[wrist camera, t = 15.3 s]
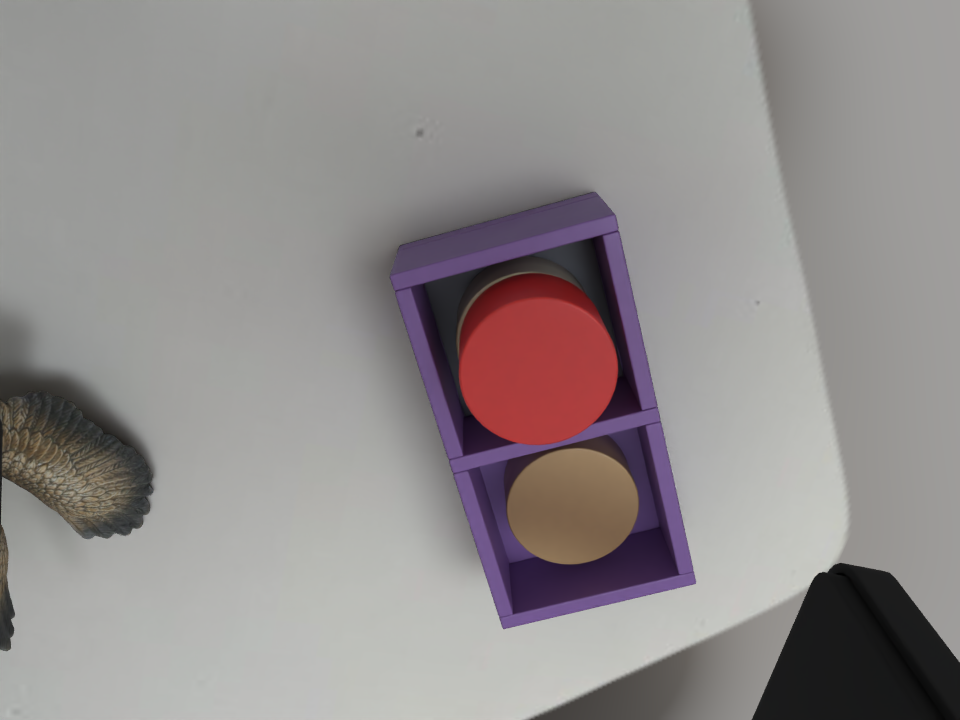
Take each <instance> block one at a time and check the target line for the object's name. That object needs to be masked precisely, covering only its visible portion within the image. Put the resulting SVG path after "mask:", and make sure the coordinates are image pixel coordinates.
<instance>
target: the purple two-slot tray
mask: <svg viewBox="0 0 960 720" xmlns="http://www.w3.org/2000/svg"><path fill="white" fill-rule="evenodd" d="M523 256H530V257H538V258H543V259H546V260H550V261H552V262H554V263H557V264H559V265H560V266H562V267H564V268H565V269H567V270H568V271H569V272H570V273H571V274H573V275H574V277H575V278H576V279H577V280H578V281H579V282H580V284H581V285H582V287H583V288H584V290H585V292H586V294H587V296H588V297H589V298H590V299H591V301H592V302H593V304H594V305H595V307H596V308H597V310H598V312H599V314H600V316H601V319H602V321H603V323H604V325H605V327H606V329H607V331H608V333H609V335H610V337H611V339H612V341H613V344H614V347H615V350H616V354H617V360H618V377H617V383H616V387H615V391H614V393H613V396H612V398H611V400H610V402H609V404H608V406H607V407H606V409H605V410H604V412H603V413H602V414H601V416H600V417H599V418H598V419H597V420H596V421H595V422H594V423H593V424H592V425H590V426H589V427H588V428H587V429H585V430H584V431H582V432H581V433H579V434H578V435H575V436H573V437H571V438H569V439H567V440H564V441H561V442H557V443H552V444H546V445H526V444H520V443H516V442H512V441H509V440H506V439H504V438H501V437H499V436H498V435H496V434H494V433H492V432H491V431H489V430H488V429H487V428H485V427H484V426H483V425H482V424H481V423H480V422H479V421H478V420H477V419H476V418H475V417H474V415H473V414H472V413H471V411H470V410H469V408H468V406H467V405H466V403H465V400H464V398H463V395H462V392H461V388H460V383H459V359H458V355H457V350H456V323H457V312H458V307H459V304H460V300H461V298H462V296H463V294H464V292H465V290H466V289H467V287H468V285H469V284H470V283H471V282H472V280H473V279H474V278H475V277H476V276H477V275H478V274H479V273H481V272H482V271H483V270H485V269H486V268H488V267H489V266H491V265H493V264H497V263H501V262H504V261H508V260H512V259H515V258H519V257H523ZM390 280H391V283H392V286H393V289H394V290H395V295H396V298H397V301H398V305H399V308H400V311H401V314H402V317H403V320H404V323H405V326H406V329H407V332H408V336H409V339H410V342H411V345H412V348H413V351H414V354H415V357H416V360H417V364H418V367H419V370H420V373H421V376H422V379H423V382H424V385H425V388H426V392H427V395H428V398H429V401H430V404H431V407H432V410H433V413H434V416H435V420H436V423H437V426H438V429H439V432H440V435H441V438H442V441H443V444H444V448H445V451H446V454H447V457H448V459H449V463H450V466H451V469H452V472H453V476H454V479H455V482H456V485H457V488H458V491H459V494H460V497H461V500H462V503H463V507H464V510H465V513H466V516H467V519H468V522H469V525H470V528H471V531H472V535H473V538H474V541H475V544H476V547H477V550H478V553H479V556H480V559H481V563H482V566H483V569H484V572H485V575H486V578H487V581H488V584H489V587H490V591H491V594H492V597H493V600H494V603H495V606H496V609H497V612H498V615H499V618H500V622H501V625H502V628H503V629H506V628H511V627H515V626H519V625H523V624H528V623H532V622H536V621H540V620H545V619H549V618H553V617H557V616H562V615H566V614H570V613H574V612H579V611H583V610H587V609H591V608H595V607H600V606H604V605H608V604H612V603H617V602H621V601H625V600H629V599H634V598H638V597H642V596H646V595H651V594H655V593H659V592H663V591H668V590H672V589H676V588H680V587H685V586H689V585H693V584H696V579H695V575H694V571H693V566H692V561H691V556H690V552H689V547H688V543H687V538H686V534H685V529H684V525H683V520H682V515H681V511H680V506H679V502H678V497H677V493H676V488H675V484H674V479H673V474H672V470H671V465H670V461H669V456H668V452H667V447H666V442H665V438H664V433H663V429H662V424H661V421H660V415H659V411H658V407H657V402H656V397H655V392H654V388H653V383H652V379H651V374H650V370H649V365H648V361H647V356H646V351H645V347H644V342H643V338H642V333H641V329H640V324H639V320H638V315H637V310H636V306H635V301H634V297H633V292H632V288H631V283H630V279H629V274H628V269H627V265H626V260H625V256H624V251H623V247H622V242H621V238H620V233H619V231H618V224H617V219H616V215H615V214H614V213H613V212H612V210H611V209H610V208H609V207H608V206H607V204H606V203H605V202H604V201H603V200H602V199H601V197H600V196H599V195H598V194H597V193H596V192H593V193H589V194H585V195H582V196H578V197H574V198H571V199H567V200H564V201H560V202H556V203H553V204H549V205H545V206H542V207H538V208H534V209H531V210H527V211H524V212H520V213H516V214H513V215H509V216H505V217H502V218H498V219H495V220H491V221H487V222H484V223H480V224H476V225H473V226H469V227H465V228H462V229H458V230H455V231H451V232H447V233H444V234H440V235H436V236H433V237H429V238H426V239H422V240H418V241H415V242H411V243H407V244H404V245H400V246H399V249H398V252H397V255H396V258H395V261H394V264H393V267H392V270H391V273H390ZM603 435H608V436H609V437H610V438H612V439H613V440H614V441H615V442H616V443H617V444H618V446H619V447H620V449H621V450H622V452H623V454H624V456H625V458H626V460H627V463H628V466H629V468H630V471H631V474H632V476H633V479H634V481H635V484H636V487H637V490H638V495H639V511H638V516H637V519H636V522H635V524H634V527H633V529H632V530H631V532H630V534H629V535H628V537H627V538H626V539H625V540H624V542H623V543H621V544H620V545H619V546H618V547H617V548H616V549H615V550H613V551H612V552H610V553H609V554H607V555H605V556H603V557H601V558H599V559H597V560H594V561H590V562H586V563H581V564H559V563H553V562H549V561H546V560H544V559H541V558H539V557H537V556H535V555H533V554H532V553H530V552H529V551H528V550H526V549H525V548H524V547H523V546H522V545H521V544H520V543H519V542H518V540H517V539H516V538H515V536H514V535H513V533H512V531H511V529H510V526H509V524H508V520H507V513H506V502H505V490H504V473H505V468H506V465H507V462H508V460H509V459H512V458H516V457H520V456H524V455H528V454H532V453H536V452H540V451H544V450H548V449H552V448H556V447H560V446H564V445H568V444H572V443H576V442H580V441H584V440H588V439H592V438H595V437H599V436H603Z"/></svg>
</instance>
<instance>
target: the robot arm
mask: <svg viewBox="0 0 960 720" xmlns="http://www.w3.org/2000/svg"><path fill="white" fill-rule="evenodd" d="M2 447H3V427H2V422H1V419H0V535H1V491H2ZM752 720H960V662H959V661H958V660H957V659H956V657H955V656H954V655H953V653H952V652H951V651H950V649H949V648H948V647H947V646H946V644H945V643H944V641H943V640H942V639H941V638H940V636H939V635H938V634H937V632H936V631H935V630H934V628H933V627H932V626H931V624H930V623H929V622H928V620H927V619H926V618H925V617H924V615H923V614H922V613H921V611H920V610H919V609H918V607H917V606H916V605H915V603H914V602H913V601H912V600H911V598H910V597H909V595H908V594H907V593H906V592H905V590H904V589H903V588H902V586H901V585H900V584H899V582H898V581H897V580H896V579H895V578H894V577H893V576H892V575H891V574H890V573H888V572H885V571H881V570H875V569H870V568H865V567H860V566H854V565H849V564H844V563H839V564H836V565H834V566H833V567H832V568H831V569H830V570H829V571H828V573H826V572H822V573H819V574H818V575H817V576H815V578H814V579H813V581H812V583H811V585H810V587H809V590H808V592H807V594H806V596H805V599H804V601H803V603H802V606H801V608H800V610H799V613H798V615H797V617H796V619H795V622H794V624H793V626H792V629H791V631H790V634H789V636H788V638H787V640H786V642H785V645H784V647H783V649H782V652H781V654H780V656H779V659H778V661H777V663H776V666H775V668H774V670H773V672H772V675H771V677H770V679H769V682H768V684H767V686H766V689H765V691H764V693H763V695H762V698H761V700H760V702H759V705H758V707H757V709H756V712H755V714H754V716H753V719H752Z"/></svg>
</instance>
